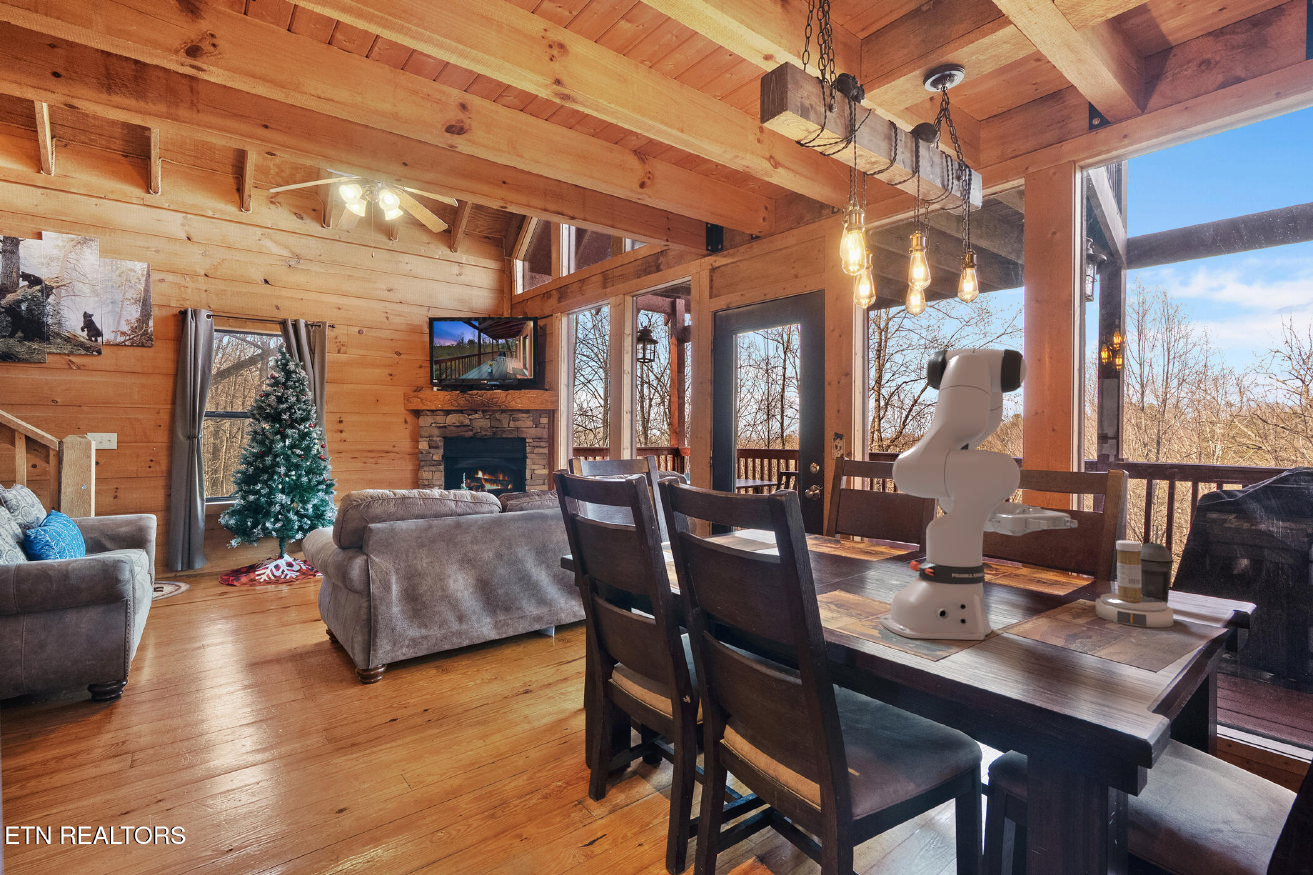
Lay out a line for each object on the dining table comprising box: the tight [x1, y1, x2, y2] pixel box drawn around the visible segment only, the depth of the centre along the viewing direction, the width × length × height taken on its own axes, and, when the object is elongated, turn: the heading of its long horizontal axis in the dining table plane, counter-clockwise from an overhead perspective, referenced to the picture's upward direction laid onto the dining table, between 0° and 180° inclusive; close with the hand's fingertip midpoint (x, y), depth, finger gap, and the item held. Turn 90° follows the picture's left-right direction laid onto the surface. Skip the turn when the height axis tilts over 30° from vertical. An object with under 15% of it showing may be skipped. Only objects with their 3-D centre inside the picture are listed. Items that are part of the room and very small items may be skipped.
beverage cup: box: [1141, 524, 1175, 604], centre depth 149 cm, size 7×7×20 cm
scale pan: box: [1100, 592, 1168, 612], centre depth 140 cm, size 12×12×1 cm
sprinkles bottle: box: [1115, 539, 1142, 602], centre depth 139 cm, size 5×5×14 cm
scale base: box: [1095, 597, 1174, 628], centre depth 140 cm, size 14×14×3 cm
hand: (1062, 524), depth 153 cm, fingers open, 8 cm apart
